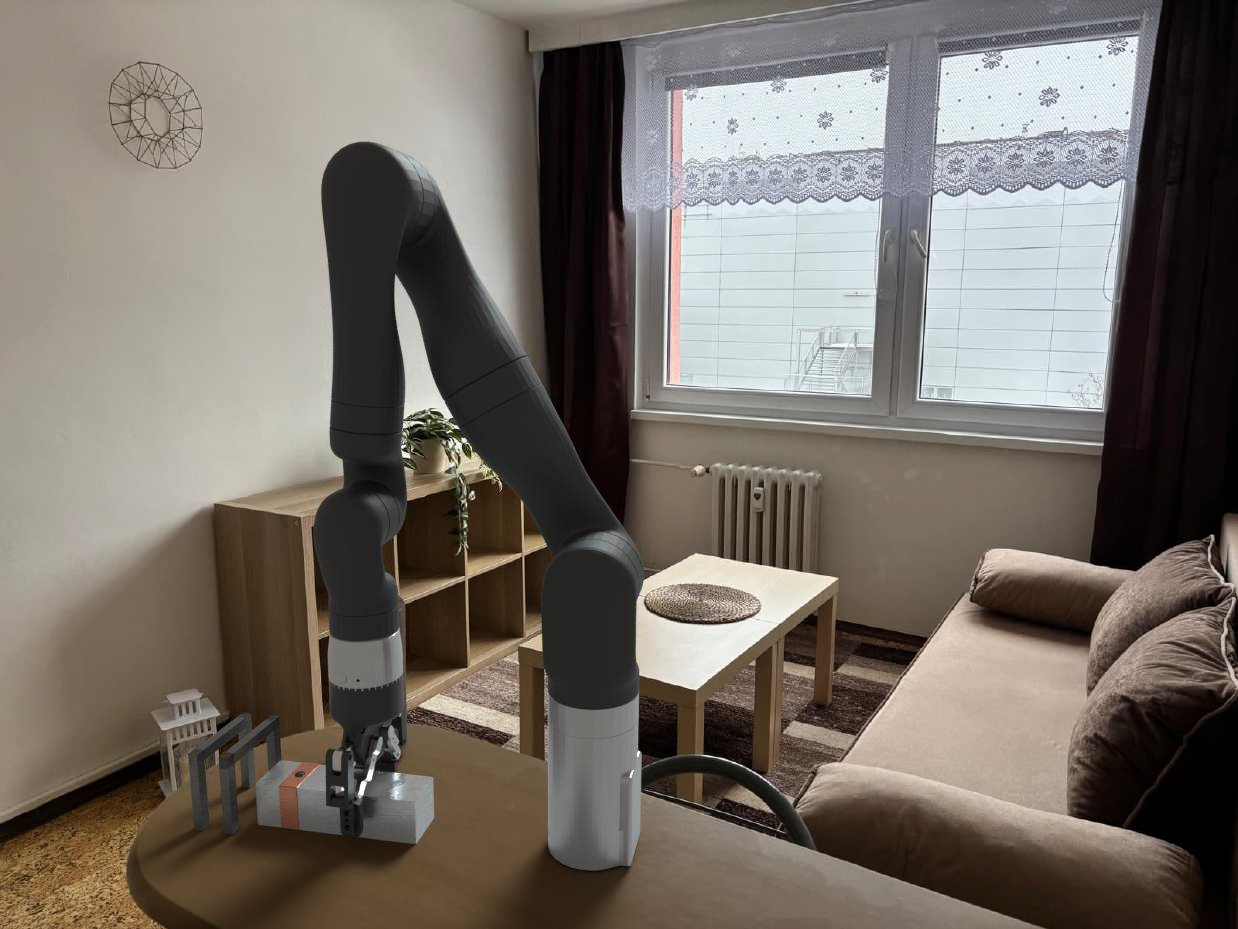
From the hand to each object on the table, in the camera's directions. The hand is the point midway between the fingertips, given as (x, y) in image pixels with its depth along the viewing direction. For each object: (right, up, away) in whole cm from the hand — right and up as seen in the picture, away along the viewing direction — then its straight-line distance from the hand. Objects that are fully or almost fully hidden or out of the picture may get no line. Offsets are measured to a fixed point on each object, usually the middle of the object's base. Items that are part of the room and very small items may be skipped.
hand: (370, 812), depth 98 cm
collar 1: (-17, -1, +3) cm, 17 cm away
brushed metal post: (-3, -1, +1) cm, 3 cm away
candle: (-3, +1, +15) cm, 15 cm away
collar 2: (-14, -1, +3) cm, 14 cm away
